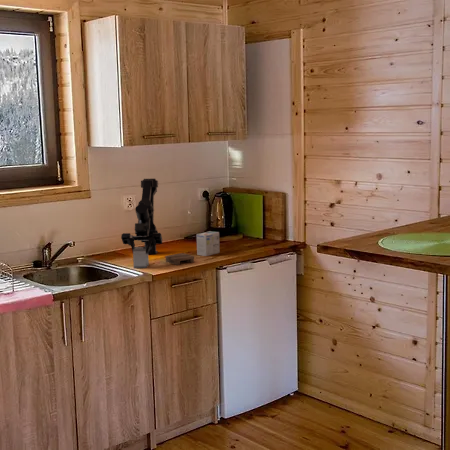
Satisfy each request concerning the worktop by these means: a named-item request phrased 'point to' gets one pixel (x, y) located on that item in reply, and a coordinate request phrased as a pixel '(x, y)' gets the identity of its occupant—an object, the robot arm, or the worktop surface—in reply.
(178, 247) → the worktop surface
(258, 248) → the worktop surface
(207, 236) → the light bulb box
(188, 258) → the walnut stand
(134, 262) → the block
